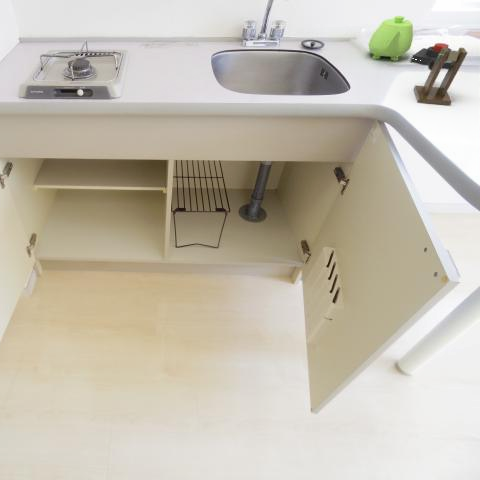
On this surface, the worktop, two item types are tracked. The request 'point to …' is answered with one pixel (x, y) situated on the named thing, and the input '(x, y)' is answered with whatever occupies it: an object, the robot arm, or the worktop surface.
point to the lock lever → (450, 59)
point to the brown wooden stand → (440, 93)
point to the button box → (428, 57)
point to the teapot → (392, 38)
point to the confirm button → (439, 46)
